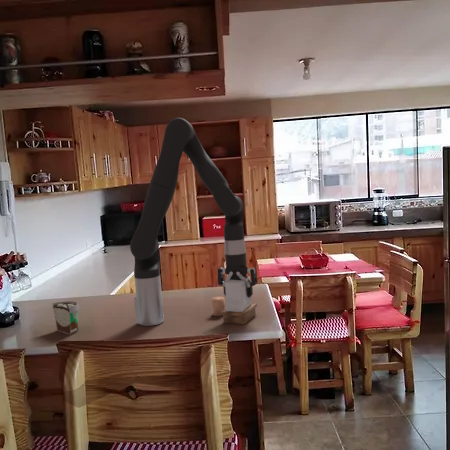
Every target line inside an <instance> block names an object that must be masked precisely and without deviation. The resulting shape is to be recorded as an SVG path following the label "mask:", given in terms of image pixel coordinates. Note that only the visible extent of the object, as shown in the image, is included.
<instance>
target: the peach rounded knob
mask: <svg viewBox="0 0 450 450" xmlns="http://www.w3.org/2000/svg"><path fill="white" fill-rule="evenodd" d="M210 300H211V312H212V316H215V317H222V316H223V315H221V312H222V311H223V310H225V309H226V297H224V296H214V297H211V299H210Z"/></svg>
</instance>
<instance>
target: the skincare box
mask: <svg viewBox="0 0 450 450" xmlns="http://www.w3.org/2000/svg"><path fill="white" fill-rule="evenodd" d="M248 277H249V279H250V280H251V276H248ZM225 292H226V296H225V309H226V311H232V312H243V311H244V310H245V309H246V308H248V307H249V306H250V305H251V304H252V296H251V297H250V298H248V296H247V285H246V284H245V282H244V281H242V280H231V279H230V280H228V281H227V282H225Z"/></svg>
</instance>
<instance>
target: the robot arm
mask: <svg viewBox="0 0 450 450" xmlns="http://www.w3.org/2000/svg"><path fill="white" fill-rule="evenodd" d="M165 126H166V127H165V130H164V135H163V140H162V145H161V149H160V153H159V156H158V159H157V162H156V165H155V167H154V170H153V174H152V176H151V179H150V182H149V185H148V188H147V192H146V194H145V198H144V203H143V205H142V206H143V207H142V212H141V216H140V219H139V222H138V224H137V227H136V230H135V231H134V234H133V235H132V238H131V240H130V243H129V248H130V249H129V250H130V252H131V254H132V256H133V257H134V269H133V275H134V284H135V285H134V286H135V297H134V299H133V301H134V302H133V303H134V312H135V322H136V324H137V325H139V326H144V327H148V326H149V327H150V326H156V325H159V324H163V323H164V321H165V317H164V306H163V305H164V304H163V294H162V293H163V291H162V282H161V281H162V280H161V258H160V256H161V255H160V244H159V240H158V236H159V231H160V228H161V224H162V222H163V220H164V218H165V216H166V214H167V212H168V211H169V208H170V206H171V204H172V201H173V197H174V195H175V192H176V189H177V185H178V178H179V169H180V162H181V158H182V155H183V153H184V154H185V155H186V156H187V157H188V159H189V161H190V162H191V164H192V166H193V167H194V168H195V170H196V171H195V172H197V175H198V176H199V178H200V180H201V181H202V183H203V184H204V185H205V187H206V188H207V189H208V191H209V192H210V194H211V195H212V196H213V199H214V201H215V203H216V204H217V206H218V209H219V210H220V211H221V212H222V213H223V214H224V223H225V224H224V225H223V236H224V237H223V239H224V245H223V246H224V248H223V249H224V250H223V252H224V261H225V267H222V266H221V267H220V268H217V284H218V285H219V286H222V287H223V295H224V296H225V297H226V292H225V282H227V281H228V280H230V279H231V280H242V281H244V282H245V284H246V285H247V296H248V298H250V297H251V298H252V296H253V294H254V293H253V291H254V290H253V287H254V286H256V285H257V284H258V277H257V270H256V267H252V268H248V265H247V264H248V262H247V249H246V242H245V232H244V203H243V200H242V198H240V197H239V195H236V194H234V193H233V192H232V190H231V188H230V187H229V182H228V181H227V179H226V177H225V176H224V175H223V174H222V172H221V171H220V169H219V168H218V167H217V165H216V164H215V162H214V161H213V160H212V159H211V157H210V156H209V155H208V154H207V152H206V151H205V149H204V147H203V145H202V143H201V141H200V140H199V138H198V135H197V134H196V131H195V129H194V127H193V125H192V124H191V123H190V122H189V121H188V120H187V119H184V118H182V117H175V118H173V119H171V120H170V121H169V122H168V123H167V125H165ZM225 274H226V275H227V276H226V278H225V279H224V277H225V276H224V275H225ZM248 275H250V276H248ZM249 277H250V279H249Z"/></svg>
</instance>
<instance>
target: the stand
mask: <svg viewBox="0 0 450 450" xmlns="http://www.w3.org/2000/svg"><path fill="white" fill-rule="evenodd" d="M257 307H258V304H257V303H251V305H250V306H249V307H248V308H246V309H245V310H244V311H243V312H232V311H226V308H225V310H223V311H222V312H221V315H223V317H222V318H223V323H224V324H225V323H226V324H237V325H240V324H242V325H245V324H247V323H248V322H249V321H251V319H253V318H254V317H255V316H256V308H257Z"/></svg>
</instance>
